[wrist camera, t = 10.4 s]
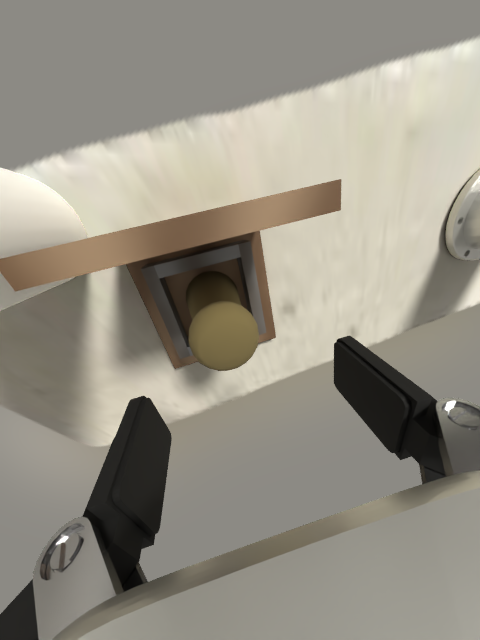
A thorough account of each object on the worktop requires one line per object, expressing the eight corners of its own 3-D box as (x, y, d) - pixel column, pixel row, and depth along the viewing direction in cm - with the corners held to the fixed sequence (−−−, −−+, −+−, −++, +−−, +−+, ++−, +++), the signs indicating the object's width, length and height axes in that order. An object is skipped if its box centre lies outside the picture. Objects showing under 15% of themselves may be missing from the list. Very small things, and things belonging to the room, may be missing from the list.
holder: (253, 207, 21) (341, 179, 9) (273, 334, 28) (336, 417, 16) (117, 239, 20) (-9, 260, 7) (175, 364, 27) (161, 481, 15)
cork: (238, 318, 25) (268, 377, 15) (189, 323, 24) (187, 390, 14) (237, 269, 22) (273, 302, 13) (181, 272, 21) (173, 311, 12)
